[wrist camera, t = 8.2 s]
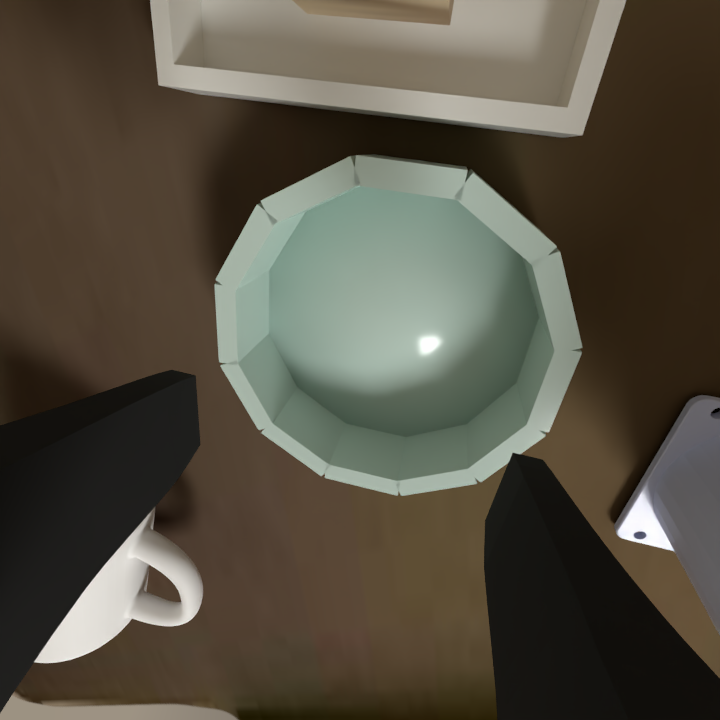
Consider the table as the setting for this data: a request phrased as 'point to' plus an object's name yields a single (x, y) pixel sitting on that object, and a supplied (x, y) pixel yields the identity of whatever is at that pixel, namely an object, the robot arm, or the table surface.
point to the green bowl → (396, 324)
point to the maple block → (383, 9)
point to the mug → (127, 595)
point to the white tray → (397, 60)
